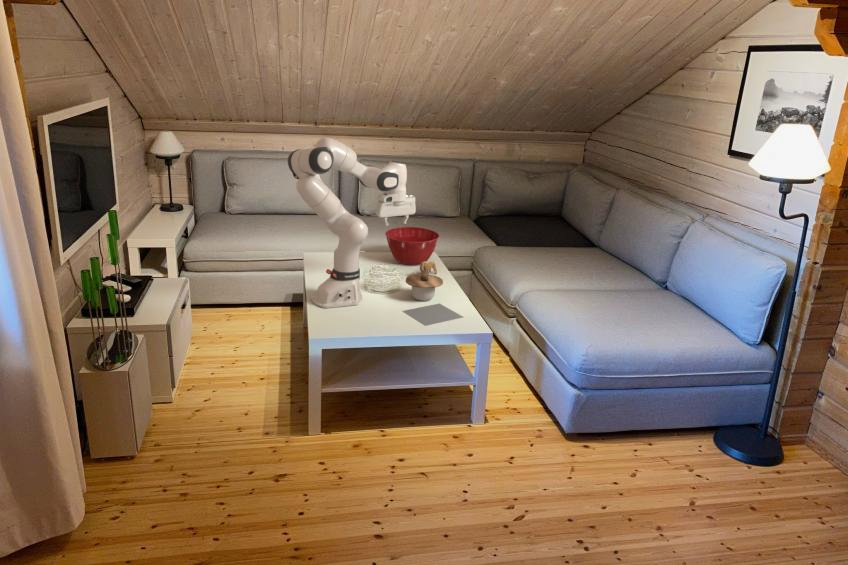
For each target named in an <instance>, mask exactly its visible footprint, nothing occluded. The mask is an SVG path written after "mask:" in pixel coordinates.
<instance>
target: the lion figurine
mask: <svg viewBox="0 0 848 565" xmlns="http://www.w3.org/2000/svg"><path fill="white" fill-rule="evenodd" d="M428 262H429V261H428ZM428 262H427V261H426V262H422V263H421V264H420V265H419V270H420V272H421V271H428V272H429V275H431V272H432V269H433V272H434V275H437V274H438V271H437V268H436V267H437V266H436V263H435V262H434V261H430V262H429V263H428Z"/></svg>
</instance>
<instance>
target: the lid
mask: <svg viewBox="0 0 848 565" xmlns="http://www.w3.org/2000/svg"><path fill="white" fill-rule="evenodd" d="M405 283H406V284H407V285H409V286H411V287H412V286H413V287H418V288H435V289H436V288H438V287H440V286H443V284H444V279H443V278H442V277H440V276H437V275H435V274H429V271H421V270H420V273H417V274H411V275H408V276H407V277H405Z"/></svg>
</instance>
